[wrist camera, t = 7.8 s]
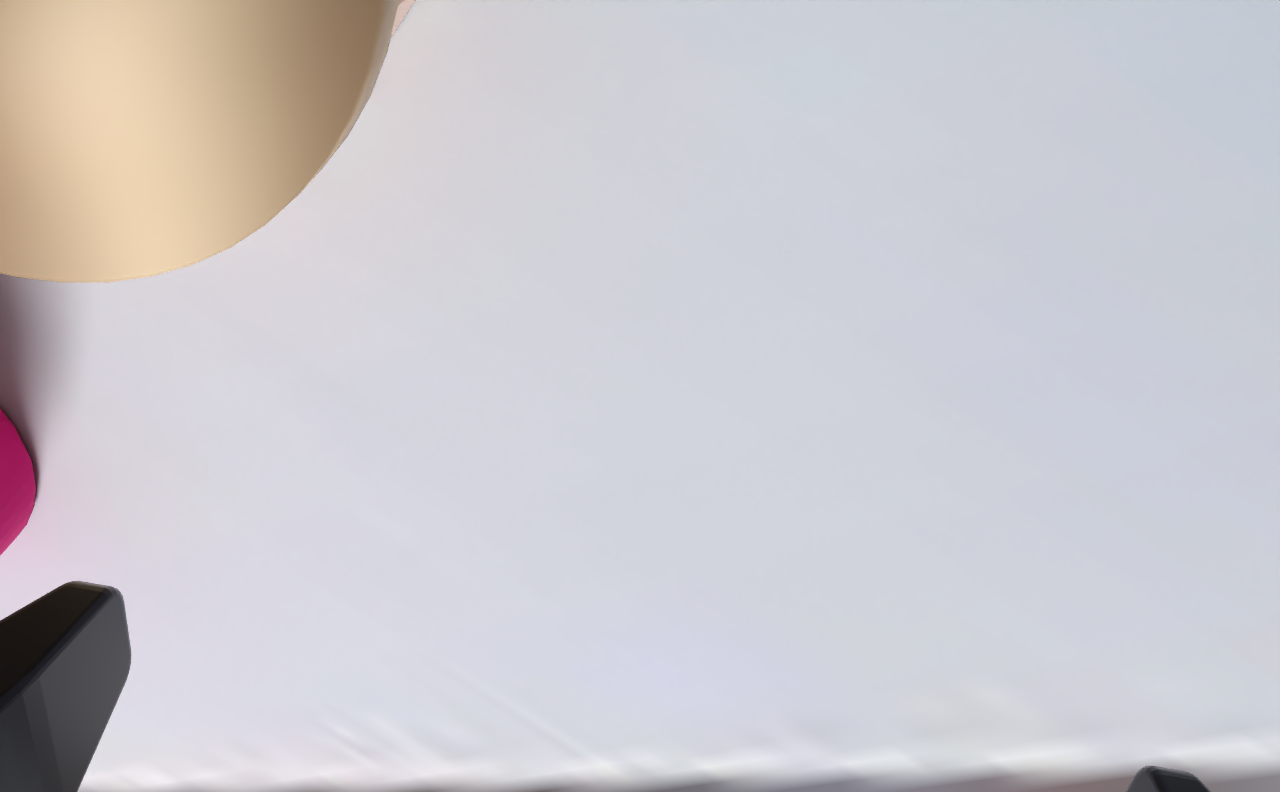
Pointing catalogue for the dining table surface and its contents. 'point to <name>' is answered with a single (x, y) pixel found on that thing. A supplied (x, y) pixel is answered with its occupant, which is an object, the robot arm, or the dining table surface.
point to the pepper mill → (14, 483)
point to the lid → (169, 124)
